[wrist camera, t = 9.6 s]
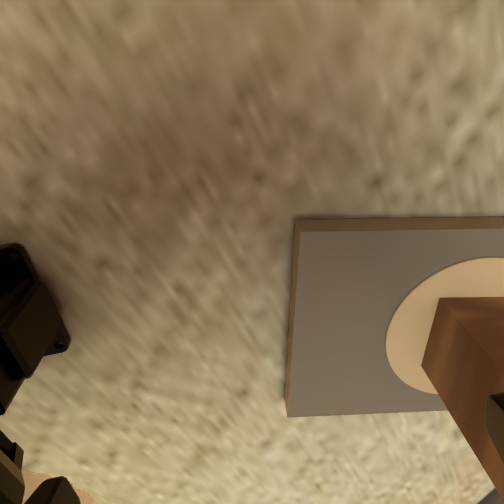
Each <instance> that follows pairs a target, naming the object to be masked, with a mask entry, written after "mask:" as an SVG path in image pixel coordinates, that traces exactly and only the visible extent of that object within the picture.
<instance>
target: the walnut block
mask: <svg viewBox="0 0 504 504" xmlns="http://www.w3.org/2000/svg"><path fill="white" fill-rule="evenodd" d="M421 367H422V368H423V370H424V372H425V373H426V375H427V376H428V378H429V380H430V381H431V383H432V385H433V386H434V388H435V389H436V391H437V393H438V394H439V396H440V398H441V399H442V401H443V403H444V404H445V406H446V407H447V409H448V411H449V412H450V414H451V416H452V417H453V419H454V420H455V422H456V424H457V425H458V427H459V429H460V430H461V432H462V433H463V435H464V437H465V438H466V440H467V442H468V443H469V445H470V447H471V448H472V450H473V451H474V453H475V455H476V456H477V458H478V460H479V461H480V463H481V464H482V466H483V468H484V469H485V471H486V473H487V474H488V476H489V477H490V479H491V481H492V482H493V484H494V486H495V487H496V489H497V491H498V492H499V494H500V495H501V497H502V499H503V500H504V464H503V462H502V460H501V458H500V456H499V454H498V452H497V450H496V448H495V446H494V444H493V442H492V440H491V438H490V436H489V434H488V432H487V430H486V426H485V411H486V399H487V396H488V395H489V394H492V393H497V392H502V391H504V297H445V298H439V301H438V304H437V308H436V312H435V316H434V319H433V323H432V327H431V330H430V334H429V338H428V341H427V345H426V349H425V352H424V356H423V360H422V364H421Z"/></svg>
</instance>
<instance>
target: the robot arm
mask: <svg viewBox="0 0 504 504" xmlns="http://www.w3.org/2000/svg"><path fill="white" fill-rule="evenodd" d="M10 252H13V253H15V254H16V255H17V257H13V256H12V255H11V254H10ZM62 322H63V320H62V318H61V316H60V314H59V312H58V310H57V308H56V306H55V304H54V302H53V300H52V298H51V296H50V294H49V292H48V290H47V288H46V286H45V284H44V283H43V282H42V281H41V280H40V279H39V277H38V275H37V273H36V271H35V269H34V267H33V265H32V263H31V261H30V259H29V257H28V255H27V253H26V251H25V250H24V249H23V247H21V246H20V245H17V244H7V245H3V246H0V415H3V414H4V413H5V412H6V410H7V408H8V407H9V405H10V403H11V401H12V400H13V398H14V396H15V395H16V393H17V391H18V389H19V388H20V386H21V384H22V383H23V381H24V379H27V378H30V377H31V376H32V375H33V373H34V371H35V370H36V368H37V366H38V364H39V363H40V361H41V359H42V357H43V356H47V355H52V354H57V353H62V352H64V351H66V350H67V349H68V347H69V345H70V342H71V341H70V338H69V336H68V334H67V332H66V330H65V328H64V326H63V324H62ZM58 342H62V343H63V344H59V343H58ZM485 426H486V430H487V432H488V434H489V436H490V438H491V440H492V442H493V444H494V446H495V448H496V450H497V452H498V454H499V456H500V458H501V460H502V462H503V464H504V391H502V392H497V393H492V394H489V395H488V396H487V399H486V411H485ZM23 453H24V451H23V449H22V448H21V447H20V446H19V445H18V444H17V443H16V442H14V443H12V442H11V441H10V440H9V439H8V438H7V436H6V435H5V434H4V433H3V432H2V431H1V430H0V504H22V502H23V497H24V491H25V484H24V479H23V475H22V471H21V469H22V461H23ZM24 504H81V502H80V499H79V496H78V495H77V493H76V492H75V490H74V489H73V487H72V486H71V484H70V482H69V481H68V479H67V478H66V477H63V476H60V477H55V478H50V479H46V480H45V481H43V482H42V483H41V484H40V485H39V486H38V487H37V489H36V490H35V491H34V492H33V493H32V495H31V496H30V497H29V498H28V499H27V500H26V502H25V503H24Z"/></svg>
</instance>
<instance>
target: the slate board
mask: <svg viewBox="0 0 504 504" xmlns="http://www.w3.org/2000/svg"><path fill="white" fill-rule="evenodd" d="M445 297H504V217H440V218H372V219H303V220H295V232H294V248H293V264H292V280H291V296H290V312H289V328H288V345H287V361H286V377H285V393H284V400H285V406H286V411H287V417H308V416H330V415H353V414H375V413H398V412H421V411H443V410H448V409H447V407H446V406H445V404H444V403H443V401H442V399H441V398H440V396H439V394H438V393H437V391H436V389H435V388H434V386H433V385H432V383H431V381H430V380H429V378H428V376H427V375H426V373H425V372H424V370H423V368H422V367H421V364H422V360H423V356H424V352H425V349H426V345H427V341H428V338H429V334H430V330H431V327H432V323H433V319H434V316H435V312H436V308H437V304H438V301H439V298H445Z"/></svg>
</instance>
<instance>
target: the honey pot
mask: <svg viewBox="0 0 504 504" xmlns="http://www.w3.org/2000/svg"><path fill="white" fill-rule="evenodd" d="M21 471H22V470H21ZM22 475H23V479H24V484H25V491H24V497H23V502H22V504H24V503H25V502H26V500H27V499H28V498H29V497H30V496H31V495H32V493H33V492H34V491H35V490H36V489H37V487H38V486H39V485H40V484H41V483H42V482H43V481H45V480H46V479H50V478H53V477H50V476H47V475H44V474H39V473H33V472H27V471H22ZM71 486H72V487H73V489H74V490H75V492H76V493H77V495H78V496H79V499H80V502H81V504H97V503H96V502H95V501H94V500H93V499H92V498H91V497H90V496H89V495H88V494H86V493H85V492H83V491H81V490H79V489H78V488H76V487H74V486H73V485H71Z"/></svg>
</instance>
